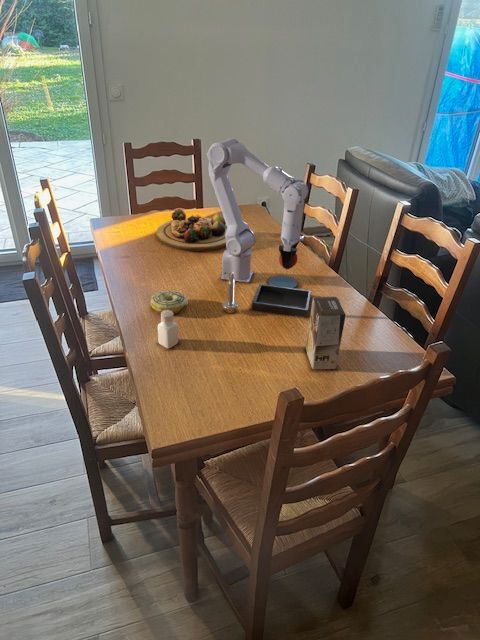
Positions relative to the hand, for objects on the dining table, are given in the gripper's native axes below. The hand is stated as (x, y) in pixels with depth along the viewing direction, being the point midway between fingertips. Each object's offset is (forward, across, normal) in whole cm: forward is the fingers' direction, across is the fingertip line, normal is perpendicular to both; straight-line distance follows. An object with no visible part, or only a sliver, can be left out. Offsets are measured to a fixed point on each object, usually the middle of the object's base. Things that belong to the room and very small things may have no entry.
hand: (287, 263), depth 148 cm
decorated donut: (+10, -22, +32) cm, 40 cm away
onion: (+2, 0, 0) cm, 2 cm away
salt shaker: (+10, -39, +26) cm, 48 cm away
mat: (+9, +4, +1) cm, 10 cm away
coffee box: (+9, -35, -14) cm, 39 cm away
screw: (+10, -18, +14) cm, 25 cm away
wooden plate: (+10, +34, +40) cm, 54 cm away
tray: (+9, -9, 0) cm, 13 cm away
